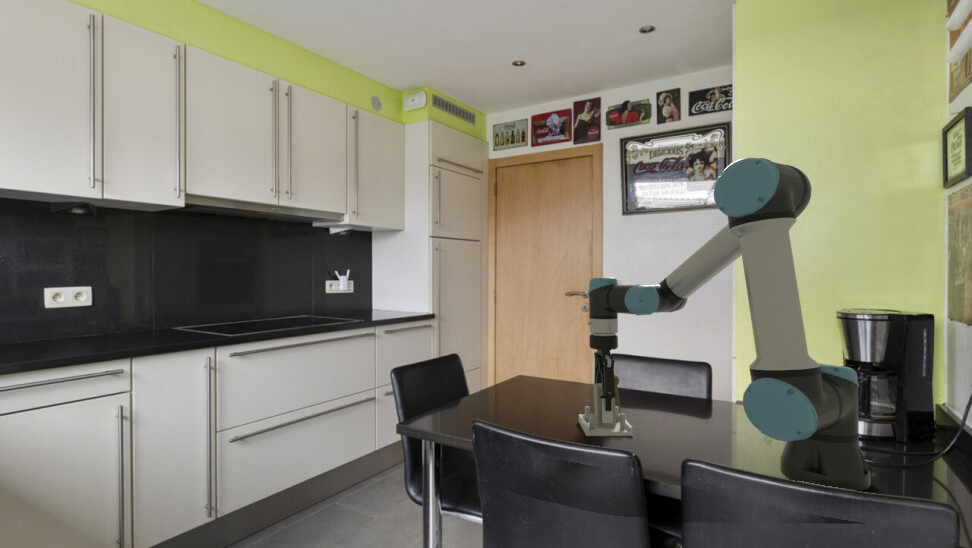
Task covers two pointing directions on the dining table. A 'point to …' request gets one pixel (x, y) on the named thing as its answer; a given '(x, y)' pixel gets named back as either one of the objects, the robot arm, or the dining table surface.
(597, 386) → the box
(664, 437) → the dining table surface
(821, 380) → the robot arm
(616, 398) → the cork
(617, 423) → the tray
